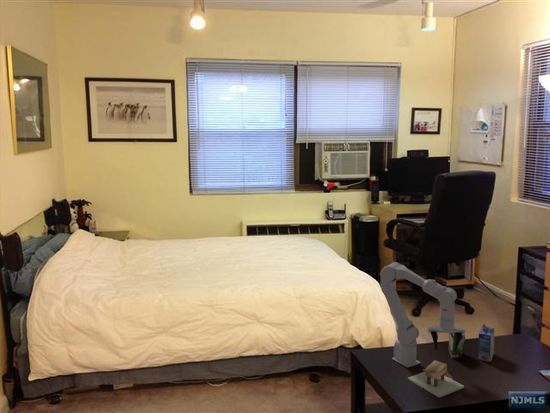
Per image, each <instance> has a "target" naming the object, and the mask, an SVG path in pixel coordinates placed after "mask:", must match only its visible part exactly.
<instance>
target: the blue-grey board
mask: <svg viewBox="0 0 550 413" xmlns="http://www.w3.org/2000/svg"><path fill="white" fill-rule="evenodd" d="M407 380H408V381H410V382H411V383H413V384H415V385H417V386H418V387H419V388H422V389H423V388H424V389H423V390H424V391H427V392H429V393H430V394H432V395H434V396H436V397H437V398H443V397H444V396H447V395H450V394H452V393H455V392H457V391H460V390H462V389H464V388H465V385H463V384H461V383H459V382H457V381H456V380H454V379H452V378H450V377H448V376H446V375H444V380H441V377H440V378H439V379H438V386H437V387H435V386H434V378H431V384H427V376H425V371H422V372H420V373H417V374H414V375H412V376H409V377H407Z"/></svg>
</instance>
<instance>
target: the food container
mask: <svg viewBox="0 0 550 413" xmlns="http://www.w3.org/2000/svg"><path fill="white" fill-rule="evenodd" d="M462 335H463V338H462V339H461V341H460V342H459V344H458V347H457V350H456V351H455V350H454V348H453V346H454V333H448V352H449V354H450V358H451V359H459V357H460V358H461V357H463V349H464V343H465V341H466V335H465V334H462Z"/></svg>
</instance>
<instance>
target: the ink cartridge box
mask: <svg viewBox="0 0 550 413" xmlns="http://www.w3.org/2000/svg"><path fill="white" fill-rule="evenodd" d="M477 350H478V351H477V353H478V355H477V357H478V358H477V359H478V360H480V361H485V362H489V363H490V362H492V359H493V357H494V354H495V328H494V327H489V326H486V324H485V323H484V324H483V325H482V327H481V328H480V331H479V332H478V349H477Z"/></svg>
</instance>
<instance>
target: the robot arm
mask: <svg viewBox="0 0 550 413" xmlns="http://www.w3.org/2000/svg"><path fill="white" fill-rule="evenodd" d="M379 276H380V288H381V290H382V292H383V295H384V298H385V300H386V302H387V305H388V307H389V309H390V311H391V313H392V316H393V318H394V320H395V323H396V328H395V329H396V330H395V331H396V334H397V339H396V341H395V342H394V344H393V357H392V360H393V361H395V362H397V363H399V364H401V365H402V366H404V367H406V368H410V367H414V366H416V365H419V364H422V363H421V361H419V360H417V349H418V348H417V346H418V345H417V339H418V337H419V336H420V331H419V328H418V327H417V326H415V324H414V321H413V320H411V319H409V317H408V315H407V313H406V310H405V307H404V306H403V303H402V302H401V299H400V297H399V293H397V290H396V287H395V284H396V282H397V280H402V279H403V280H404V279H405V280H407V281H409V282H411V283H413V284H415V285H417V286H418V287H421V289H422V291H423V292H424V293H426V294H428V295H429V296H431V297H434V299H437V300H438V302H439V319H438V325H433V326H432V325H431V326H427V333H429V334H430V335H431V337H432V340H433V345H434V348H433V349H434V350H435V351H437V350H438V340H439V335H438V333H441V334H442V333H443V334H449V333H454V346H453V348H454V350H455V351H456V350H457V347H458V344H459V342H460V341H461V339H462V338H463V335H462V334H464V335H465V334H466V329H465V328H464V327H459V326H455V325H454V324H455V311H456V308H455V304H456V302H455V301H456V300H457V298H458V296H457V295H458V294H457V291H456V290H455V289H453V288H452V287H447V286H445V285H444V286H443V285H442V284H440V283H438V282H436V280H435V279H429V278H428V279H425V278H423V277H422V276H420V275H419V274H416V272H414V271H412V270H411V269H409V268H407V267H406V266H405V265H404V264H401V263H400V262H396V261H393V262H392V263H390V264H388V265H385V266H384V267H382V268H381V270H380V272H379Z"/></svg>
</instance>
